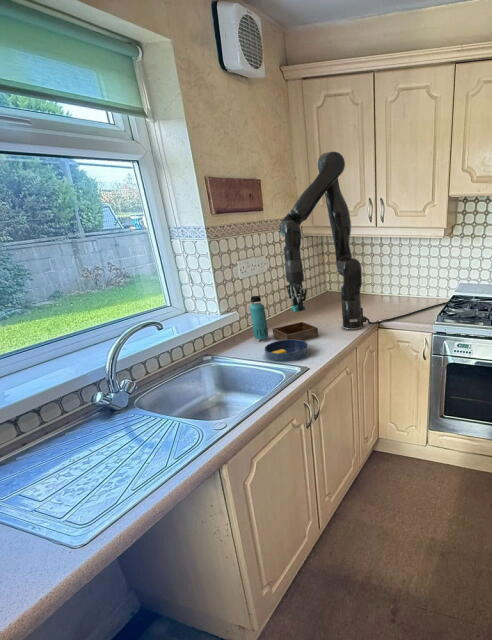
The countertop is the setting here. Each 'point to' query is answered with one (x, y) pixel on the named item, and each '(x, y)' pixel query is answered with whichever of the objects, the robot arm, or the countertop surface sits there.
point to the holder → (295, 332)
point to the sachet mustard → (280, 351)
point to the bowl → (293, 348)
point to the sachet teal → (295, 308)
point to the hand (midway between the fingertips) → (298, 309)
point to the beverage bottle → (258, 319)
